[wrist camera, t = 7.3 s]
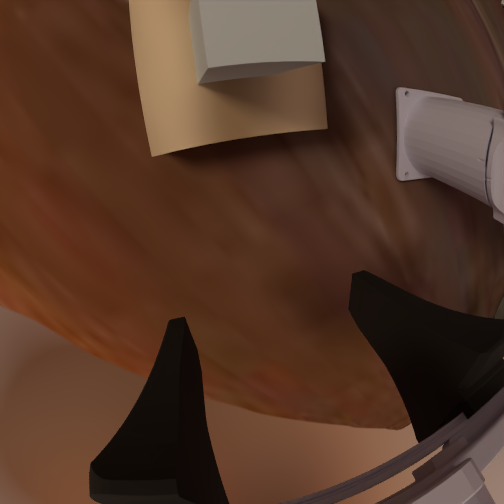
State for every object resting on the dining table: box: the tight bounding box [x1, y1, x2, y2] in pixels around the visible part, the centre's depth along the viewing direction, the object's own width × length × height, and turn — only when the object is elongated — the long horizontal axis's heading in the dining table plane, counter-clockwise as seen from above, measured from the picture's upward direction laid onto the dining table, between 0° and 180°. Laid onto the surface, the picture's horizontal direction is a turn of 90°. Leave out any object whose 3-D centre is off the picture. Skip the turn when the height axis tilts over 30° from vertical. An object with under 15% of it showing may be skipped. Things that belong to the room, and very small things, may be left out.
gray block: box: [189, 0, 325, 84], centre depth 9 cm, size 4×4×6 cm
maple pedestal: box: [129, 0, 328, 157], centre depth 13 cm, size 10×10×3 cm
